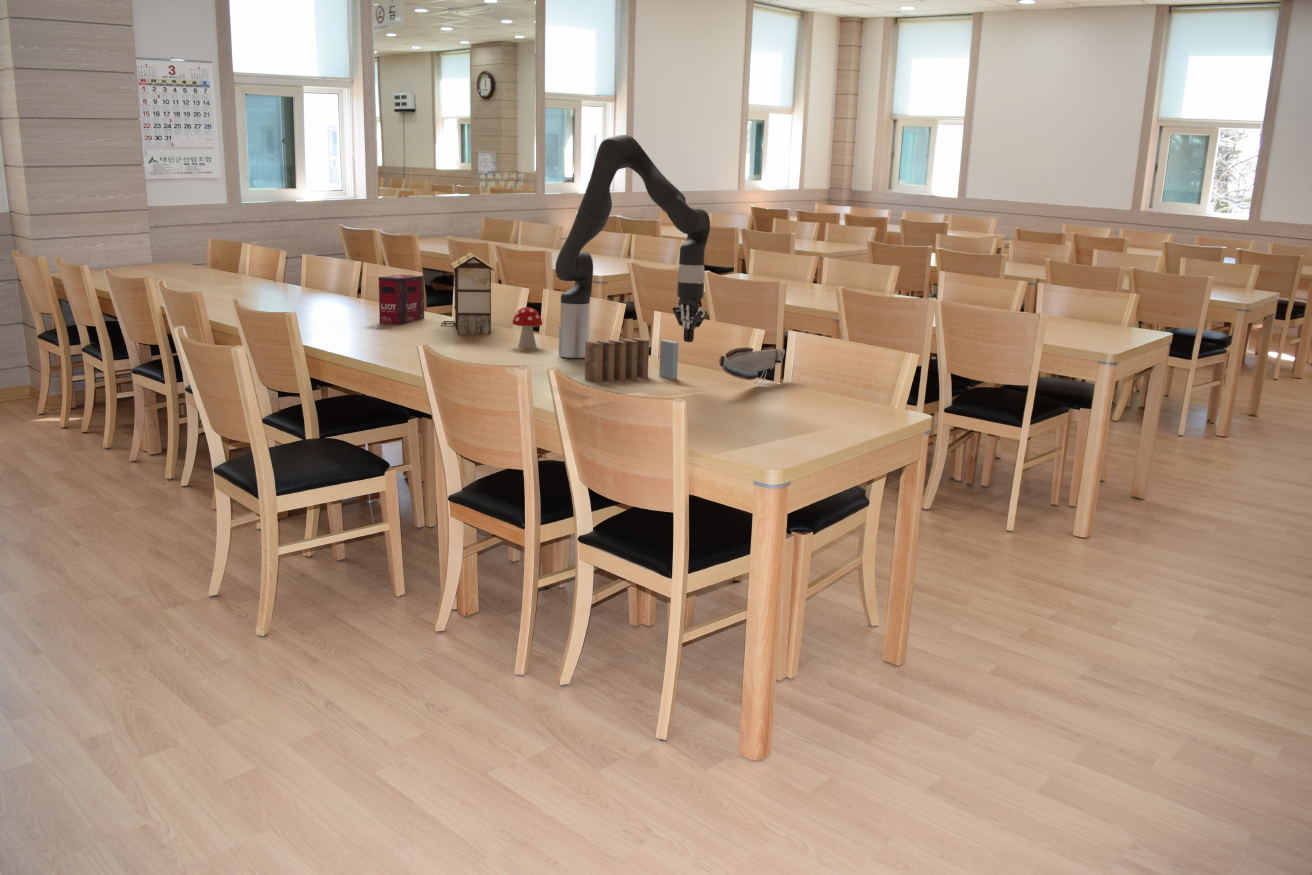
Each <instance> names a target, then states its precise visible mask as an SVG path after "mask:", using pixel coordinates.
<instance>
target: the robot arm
mask: <svg viewBox="0 0 1312 875" xmlns="http://www.w3.org/2000/svg"><path fill="white" fill-rule="evenodd" d="M627 168H629V169H631V170H633V171H634V172H635V173H636V174H637V175H638V176H639V177H640V178H641V180H642V181H643V183H644V186H645V189H646V192H647V194H648V196H649V197H650V198H651V200H652V201H653V202H654V203H655V204H656V205H657V207H659V208H660V209H661V210H662V211H664V212H665V214H666V215H667V216H668V219H669V220H670V221H671V223H672V224H673V225H674V227H675V228H676V229H677V230H678V231H680V232H681V233H682V234H684V235H687V236H686V241H685V243H682V244H681V245H680V248H679V262H678V264H679V265H678V271H677V286H676V287H677V290H676V292H677V293H676V296H677V298H679V300H678V305H677V306H675V307H673V308H672V311H673V314H674V316H675V319H676V321H677V324H678V326H681V327H682V329H683V341H684V343H693V341H694V338H695V337H694V336H695V329H696V328H700V327H701V324H703V322H704V320H705V319H706V317H707V315H708V311H707V310H704V309H703V303H702V299H703V298H704V295H705V294H704V292H705V250H706V246H707V244H708V243H707V242H708V239H709V235H710V232H711V220H710V216H709V213H708V212H707V211H705V209H702V208H692V207H690V206H689V205H688V203H686V202H687V201H686V197H685V195H684V194H683V193H682V191H680V190H679V189H678V188H677V187H676V186H675V185H674V184H673V183H672V182H671V181H670V180H669V179H668V178H667V177H666V176H664V174H663V173H662V172H661V171H660V170H659V169H658V167H657V166H656V164H654V161H653V160H652V159H651V158H650V157H649V155H648V154H647V152H646V151H645V149H644V148H642V145H641V144H640V143H639V142H638V141H637V140H636V139H635V137H633V136H631V135H629V134H620V135H619V134H618V135H615V136H610V137H609V136H608V137H607V138H605V139H602V141H601V143H600V144H599V147H598V148H597V152H596V156H595V160H594V164H593V168H592V172H591V175H590V178H589V181H588V183H587V187H586V188H585V192H584V195H583V197H582V200H581V202H580V204H579V207H578V210H577V213H576V215H575V218H574V222H573V224H572V226H571V229H570V230H569V234H568V235H567V237H566V239H565V242H564V243H563V246H562V247H561V249H560V251H559V253H558V256H557V257H556V258H557V259H556V260H555V261H556V262H555V268H554V269H555V274H556V277H557V278H558V279H559V280H560V281H564V282H574V285H573V286H572V287H571V288H570V289H568V290H566V291H564V292H562V293H561V295H560V322H559V323H560V325H559V326H558V355H559V356H560V358H561V357H562V358H569V359H585V342H587V341H590V314H591V313H590V312H591V308H590V307H591V305H590V304H591V296H592V292H593V278H594V277H593V276H594V262H593V257H592V255H591V254H590V253H589V252H587V251H582V250H583V249H584V247H585V246H586V245H587V244H588V243H589V242H591V241H592V240H593V239H594V238H595V237H597V236H598V235H599V233H601V232H602V231H603V229H604V228H605V226H606V223H607V221H608V219H609V218H610V217H609V216H610V214H611V212H612V209H613V208H612V207H613V202H612V201H613V200H612V195H611V185H612V183H613V180H614V178H615V176H616V174H617V172H618V171H619V170H621V169H627Z"/></svg>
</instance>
